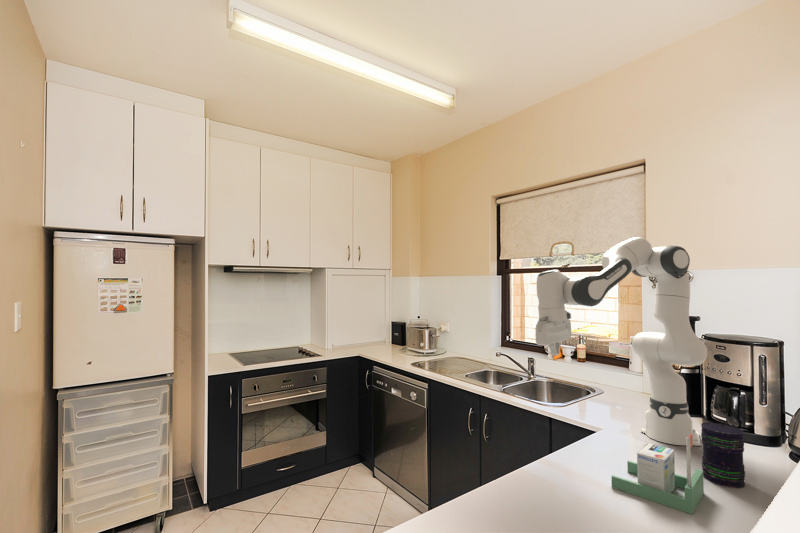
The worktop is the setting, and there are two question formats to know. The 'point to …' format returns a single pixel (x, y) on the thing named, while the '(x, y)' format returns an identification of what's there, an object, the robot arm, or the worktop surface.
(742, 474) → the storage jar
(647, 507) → the worktop surface
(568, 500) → the worktop surface
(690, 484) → the putting bay
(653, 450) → the light bulb box
